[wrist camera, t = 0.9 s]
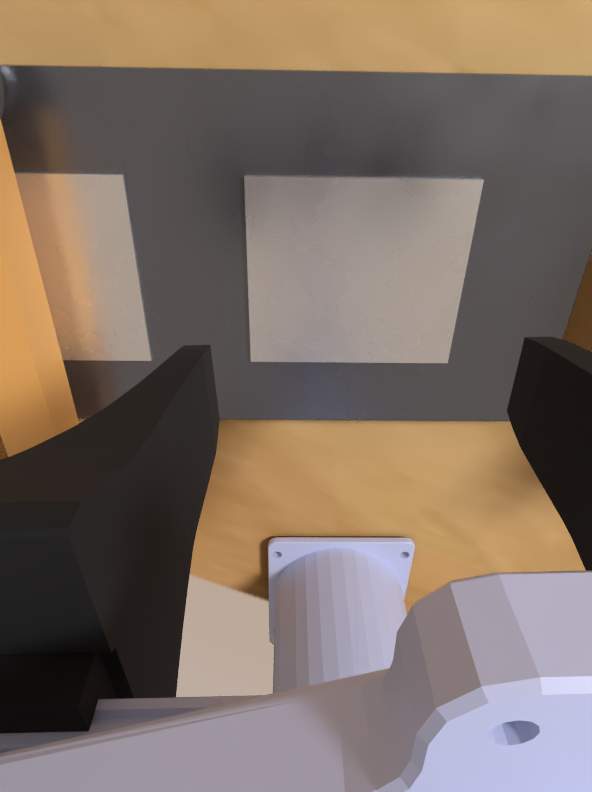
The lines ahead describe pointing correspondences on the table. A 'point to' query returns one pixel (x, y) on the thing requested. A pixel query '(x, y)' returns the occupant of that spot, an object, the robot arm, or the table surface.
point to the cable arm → (26, 330)
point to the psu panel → (305, 230)
